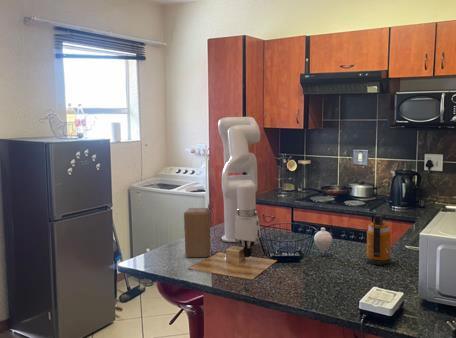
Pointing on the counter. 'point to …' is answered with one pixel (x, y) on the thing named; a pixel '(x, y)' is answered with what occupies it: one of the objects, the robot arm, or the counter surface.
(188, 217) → the block
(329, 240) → the spinning top
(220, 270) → the wooden board
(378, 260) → the amber tall bottle
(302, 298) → the counter surface
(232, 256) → the oak cube
